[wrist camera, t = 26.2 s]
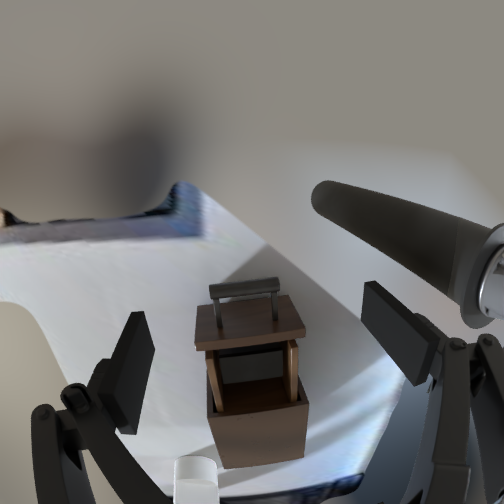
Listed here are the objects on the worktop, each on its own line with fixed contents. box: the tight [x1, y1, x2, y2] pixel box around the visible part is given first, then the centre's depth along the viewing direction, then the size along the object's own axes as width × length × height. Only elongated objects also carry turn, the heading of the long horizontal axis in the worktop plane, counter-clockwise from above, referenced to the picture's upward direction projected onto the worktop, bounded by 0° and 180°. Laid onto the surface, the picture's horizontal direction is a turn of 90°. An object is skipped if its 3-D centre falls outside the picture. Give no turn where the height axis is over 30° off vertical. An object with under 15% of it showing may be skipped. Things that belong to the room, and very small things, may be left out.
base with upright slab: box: [173, 455, 219, 504], centre depth 43 cm, size 9×9×12 cm
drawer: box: [194, 277, 306, 413], centre depth 33 cm, size 18×11×8 cm, turn 4°
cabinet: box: [207, 370, 309, 469], centre depth 38 cm, size 15×13×10 cm
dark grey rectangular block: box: [218, 342, 283, 384], centre depth 34 cm, size 4×7×5 cm, turn 94°
